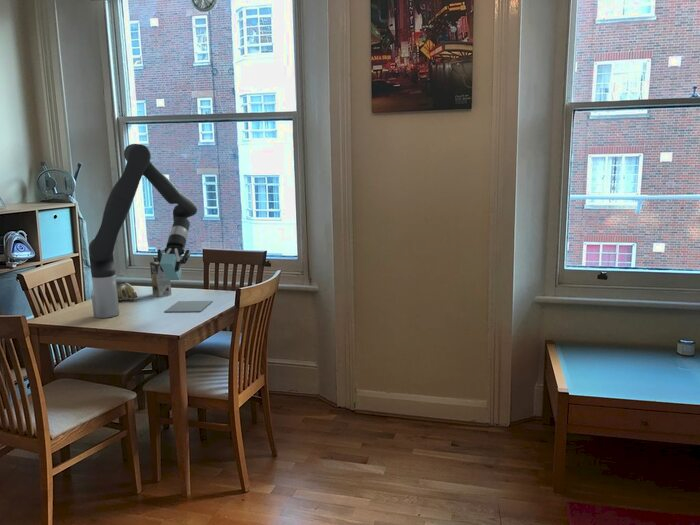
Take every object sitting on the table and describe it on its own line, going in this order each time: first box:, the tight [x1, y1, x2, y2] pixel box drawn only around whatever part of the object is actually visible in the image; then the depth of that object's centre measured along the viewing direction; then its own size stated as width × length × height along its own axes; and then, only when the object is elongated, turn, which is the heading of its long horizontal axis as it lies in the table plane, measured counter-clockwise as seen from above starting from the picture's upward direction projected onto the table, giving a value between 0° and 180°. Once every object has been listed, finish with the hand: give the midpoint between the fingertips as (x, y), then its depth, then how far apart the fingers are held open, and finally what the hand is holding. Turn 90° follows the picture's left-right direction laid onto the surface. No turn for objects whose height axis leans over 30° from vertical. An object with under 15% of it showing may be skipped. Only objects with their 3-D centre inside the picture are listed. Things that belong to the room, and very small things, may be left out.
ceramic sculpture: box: [117, 281, 138, 301], centre depth 263 cm, size 11×9×15 cm
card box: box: [160, 253, 183, 281], centre depth 231 cm, size 5×5×12 cm
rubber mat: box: [163, 300, 214, 313], centre depth 246 cm, size 16×18×1 cm
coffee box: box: [149, 260, 172, 298], centre depth 270 cm, size 9×6×16 cm
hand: (169, 270), depth 229 cm, fingers closed on card box, 5 cm apart
